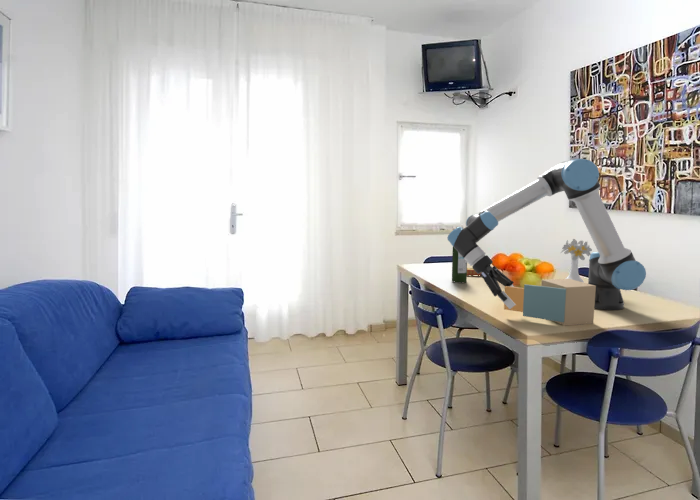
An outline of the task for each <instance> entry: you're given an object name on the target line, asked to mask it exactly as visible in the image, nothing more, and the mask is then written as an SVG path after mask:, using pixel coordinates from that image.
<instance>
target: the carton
mask: <svg viewBox="0 0 700 500" xmlns="http://www.w3.org/2000/svg"><path fill="white" fill-rule="evenodd" d="M481 273H482V272H481ZM481 273H479V274H477V273H476V272H475V270H474V269H473V267H467V275H478V276H479V275H480V274H481Z"/></svg>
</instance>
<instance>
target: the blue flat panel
mask: <svg viewBox="0 0 700 500" xmlns="http://www.w3.org/2000/svg"><path fill="white" fill-rule="evenodd" d="M504 292H505V293H506V294H507V295H508V296H509V298H510V299H511V300H512V301H513V302H514V303H515V304H516V305H515V306H513V307H512V308H511V309H509V308H508V307H507V306H506V305H505V304H504V303H503V304H504V305H503V310H506V311H513V312H521V313H522V317H526V318H527V317H528V318H535V319H540V320H547V321H553V322H555V321H559V322H564V317H565V300H566V289H562V288H553V287H544V286H541V285H535V284H534V285H533V284H524V285H523V287H516V286H514V287H509V286H504Z"/></svg>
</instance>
